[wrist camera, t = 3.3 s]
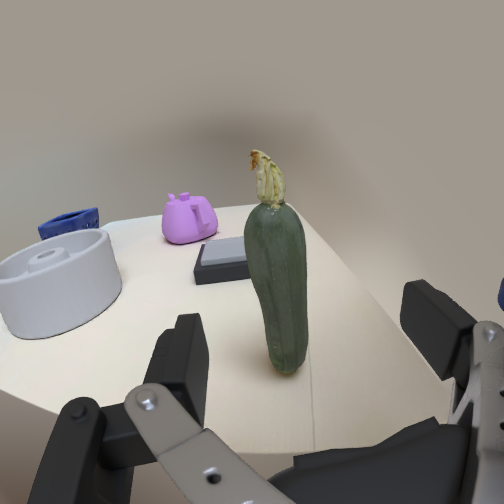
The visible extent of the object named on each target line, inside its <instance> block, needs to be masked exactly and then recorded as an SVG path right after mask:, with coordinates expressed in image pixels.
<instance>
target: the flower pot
mask: <svg viewBox="0 0 504 504" xmlns="http://www.w3.org/2000/svg"><path fill="white" fill-rule="evenodd" d="M87 223H88V227H87ZM85 229H99V215H98V209H97V208H91V209H86V210H81V211H76V212H71V213H67V214H64V215H61V216H58V217H56V218H54V219H52V220H50V221H48V222H46V223H44V224H42V225H40V226H39V227H38V231H39V234H40V236H41V238H42V241H43V240H46V239H49V238H51V237H55V236H58V235H62V234H65V233H69V232H74V231H79V230H85Z"/></svg>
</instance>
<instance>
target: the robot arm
mask: <svg viewBox="0 0 504 504" xmlns="http://www.w3.org/2000/svg"><path fill="white" fill-rule="evenodd" d="M400 323H401V327H402V329H403V331H404V332H405V333H406V335H407V336H408V337H409V338H410V340H411V341H412V342H413V344H414V345H415V346H416V347H417V349H418V350H419V351H420V353H421V354H422V355H423V356H424V358H425V359H426V360H427V362H428V363H429V364H430V366H431V367H432V368H433V370H434V371H435V372H436V374H437V375H438V376H439V378H440V379H441V380H442V381H444V380H446V379H449V378H451V377H454V378H455V380H454V383H453V386H452V395H451V402H450V409H449V415H448V421H447V424H440V425H439V423H438V422H437V420H436V418H435V417H434V416H433V417H431V418H429V419H426V420H424V421H421V422H419V423H416V424H413V425H411V426H408V427H405V428H404V429H402V430H400V431H399V432H397V433H396V434H394V435H393V436H391V437H389V438H388V439H386V440H384V441H383V442H381V443H379V444H377V445H375V446H373V447H364V448H344V449H329V450H325V451H320V452H315V453H309V454H304V455H298V456H294V457H293V458H294V466H292V467H290V468H287V469H285V470H283V471H281V472H279V473H277V474H275V475H274V476H272V477H271V478H270V479H268V480H265V479H264V478H263V477H262V476H261V475H259V474H258V473H257V472H256V471H255V470H254V469H253V468H251V467H250V466H249V465H248V464H247V463H246V462H245V461H243V460H242V459H241V458H240V457H239V456H238V455H237V454H236V453H235V452H234V451H233V450H232V449H230V448H229V447H228V446H227V445H226V444H225V443H224V442H223V441H222V440H221V439H220V438H219V437H218V436H217V435H216V434H215V433H214V432H213V431H212V430H210V429H209V428H205V429H203V428H204V415H205V403H206V391H207V380H208V369H209V351H208V346H207V342H206V338H205V334H204V330H203V325H202V321H201V317H200V315H199V313H193V314H183V315H178V318H177V321H176V324H175V328H174V329H166V330H165V331H164V332H163V333H162V334H161V335H160V336H159V337H158V340H157V343H156V345H155V349H154V351H153V354H152V357H151V360H150V363H149V366H148V369H147V372H146V375H145V378H144V381H143V384H142V385H140V386H137V387H136V388H134V389H133V390H131V391H130V392H129V393H128V395H127V396H126V398H125V401H124V402H123V403H120V404H115V405H111V406H106V407H101V408H100V407H99V405H98V403H97V402H96V401H95V400H94V399H92V398H89V397H78V398H75V399H73V400H71V401H69V402H68V403H67V404H66V405H65V406H64V407H63V408H62V410H61V412H60V414H59V416H58V419H57V421H56V424H55V426H54V429H53V431H52V434H51V436H50V438H49V441H48V443H47V446H46V449H45V452H44V454H43V457H42V460H41V462H40V465H39V468H38V471H37V474H36V477H35V480H34V483H33V486H32V489H31V492H30V496H29V499H28V503H27V504H129V503H130V495H131V487H132V480H133V473H134V466H137V465H143V464H148V463H153V462H157V461H158V462H159V463H160V465H161V466H162V468H163V469H164V471H165V472H166V473H167V475H168V476H169V477H170V479H171V480H172V481H173V483H174V484H175V485H176V486H177V487H178V489H179V490H180V491H181V493H182V494H183V495H184V496H185V498H186V499H187V500H188V501H189V502H190V504H504V329H503V327H501V326H500V325H499V324H497V323H494V322H492V321H480V322H477V321H476V320H475V319H474V318H473V317H472V316H471V315H470V314H468V313H467V312H466V311H465V310H464V309H463V308H462V307H461V306H459V305H458V304H457V303H456V302H455V301H453V300H452V299H451V298H450V297H449V296H448V295H447V294H445V293H443V292H441V291H439V290H436V289H435V288H433V287H432V286H431V285H430V284H429V283H427V282H426V281H425V280H423V279H421V280H416V281H411V282H407V283H406V284H405V286H404V291H403V298H402V305H401V312H400Z"/></svg>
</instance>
